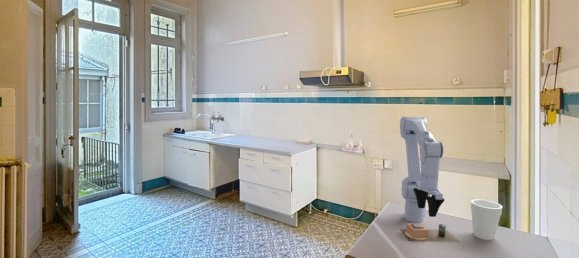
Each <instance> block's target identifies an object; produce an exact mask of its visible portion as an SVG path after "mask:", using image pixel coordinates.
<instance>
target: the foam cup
mask: <svg viewBox="0 0 579 258" xmlns="http://www.w3.org/2000/svg"><path fill="white" fill-rule="evenodd" d="M470 210H471V212H470V213H471V226H472V235H473V236H474V237H476V238H477V239H481V240H485V241H493V240H495V237H496V233H497V230H498V227H499V222H500V219H501V216H502V213H503V205H501V204H500V203H498V202H495V201H492V200H487V199H480V198H479V199H477V198H476V199H472V200H471V201H470Z"/></svg>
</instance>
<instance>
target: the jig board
mask: <svg viewBox="0 0 579 258" xmlns="http://www.w3.org/2000/svg"><path fill="white" fill-rule="evenodd" d="M399 230H400V232H401V233H402V234H403V236H404V237H405V238H406V239H407V240H408V241H409V242H436V243H437V242H441V243H443V242H445V243H461V241H460V240H459V239H458V238H457V237H456V236H454V235H453V233H452V232H450V231H449V230H447V229H446V230H445V237H441V236H439V235H438V230H439V229H428V235H427V236H428V238H427V239H426V240H415V239H412V238H410V237H408V236H406V235H405V231H406V228H399Z"/></svg>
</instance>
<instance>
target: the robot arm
mask: <svg viewBox="0 0 579 258" xmlns="http://www.w3.org/2000/svg"><path fill="white" fill-rule="evenodd" d="M427 127H428V120H427V118H426V117H425V116H424V117H423V116H422V117H418V116H417V117H415V116H402V117H401V118H400V121H399V132H400V133H399V134H400V137H401V138H402V139H404V141H405V151H406V163H407V164H406V165H407V174H408V175H407V177H405V178H404V179H403V180H402V181H401V196H402V198H403V199H404V200H405V202H404V203H405V204H404V219H405V220H406V221H408V222H410V223H411V222H412V223H423V221H424V218H426V210H427V211H428V217H430V218H433V217H437V214H438V211H439V209H440V207H441V206H442V204H443V203H444V202H445V198H444V197H443V195H444V194H443V193H442V192H441V191H440V189H439V187H438V185H439V170H440V159H442V158H443V156H444V145H443V143H442V142H441V141H439V140H436V139H435V137H434V136H433V134H432V133H431V132H430V131H429V130H427ZM419 156H420V157H419ZM420 162H421V163H420ZM430 195H431V196H430ZM427 207H428V209H426V208H427Z"/></svg>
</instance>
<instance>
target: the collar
mask: <svg viewBox="0 0 579 258" xmlns="http://www.w3.org/2000/svg"><path fill="white" fill-rule="evenodd" d="M412 224H419V225H421V226H422V229H414V228H413V227H412ZM405 229H406V232H407V233H408V234H410V235H411V236H412V237H413V238H427V235H428V230H429V229H428V228H426V227H425V226H424V225H423V224H422V223H421V222H412V223H406V228H405Z"/></svg>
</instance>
